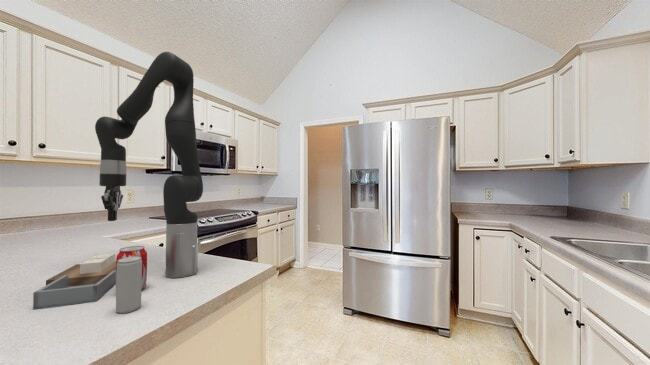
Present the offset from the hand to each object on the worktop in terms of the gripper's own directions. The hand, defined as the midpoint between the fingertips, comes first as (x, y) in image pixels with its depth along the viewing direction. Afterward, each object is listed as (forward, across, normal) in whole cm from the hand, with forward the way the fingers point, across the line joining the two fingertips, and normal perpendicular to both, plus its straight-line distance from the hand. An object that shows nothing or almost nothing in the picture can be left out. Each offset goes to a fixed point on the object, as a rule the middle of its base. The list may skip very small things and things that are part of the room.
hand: (112, 220), depth 93 cm
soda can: (+17, -28, -14) cm, 35 cm away
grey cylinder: (+17, -40, -16) cm, 47 cm away
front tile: (+14, -14, 0) cm, 19 cm away
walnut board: (+17, -12, 0) cm, 20 cm away
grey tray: (+17, -26, -2) cm, 31 cm away
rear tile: (+14, -8, 0) cm, 16 cm away
